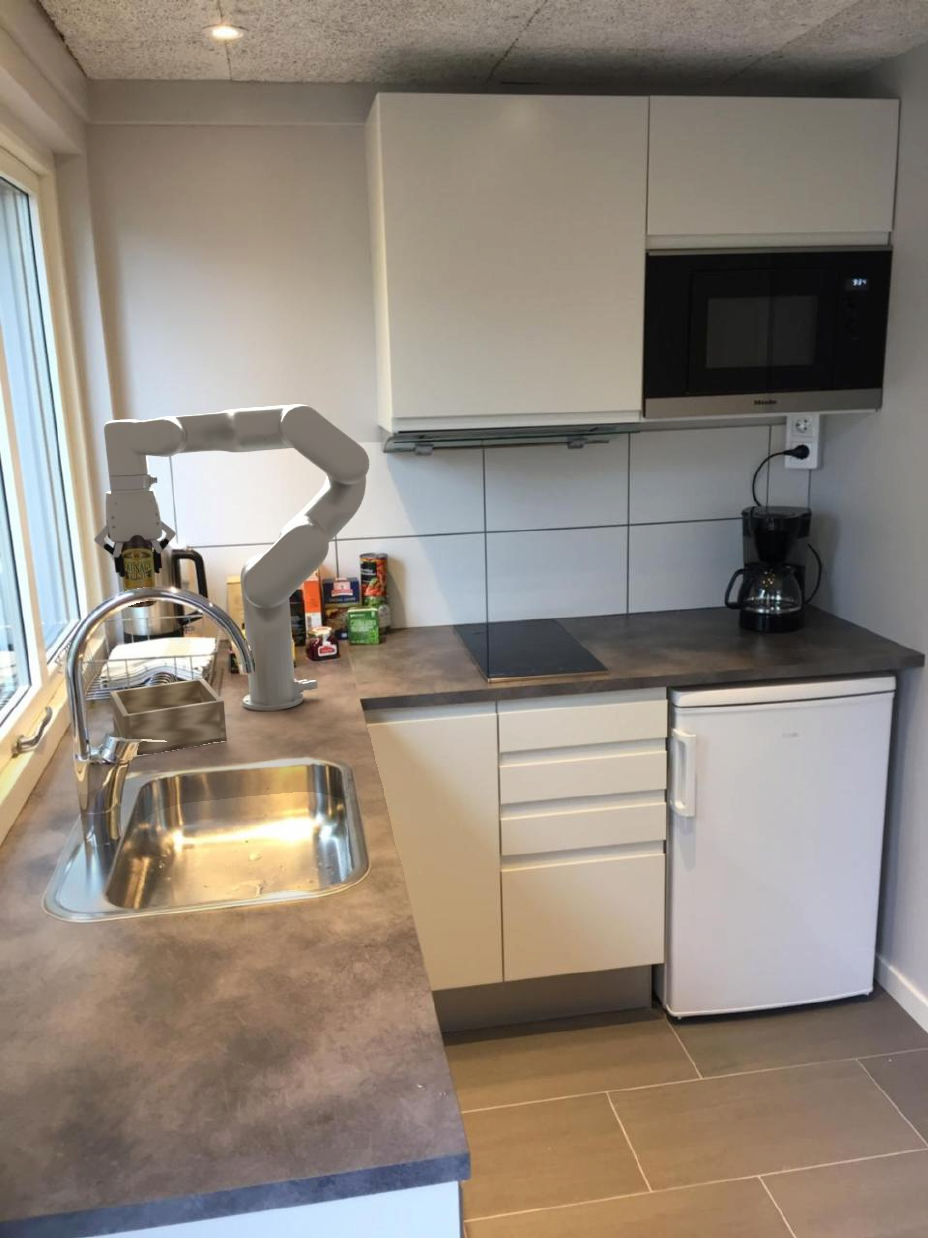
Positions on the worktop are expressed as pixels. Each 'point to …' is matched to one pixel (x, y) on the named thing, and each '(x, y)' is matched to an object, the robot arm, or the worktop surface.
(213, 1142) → the worktop surface
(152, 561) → the sauce bottle
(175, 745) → the crate
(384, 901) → the worktop surface
